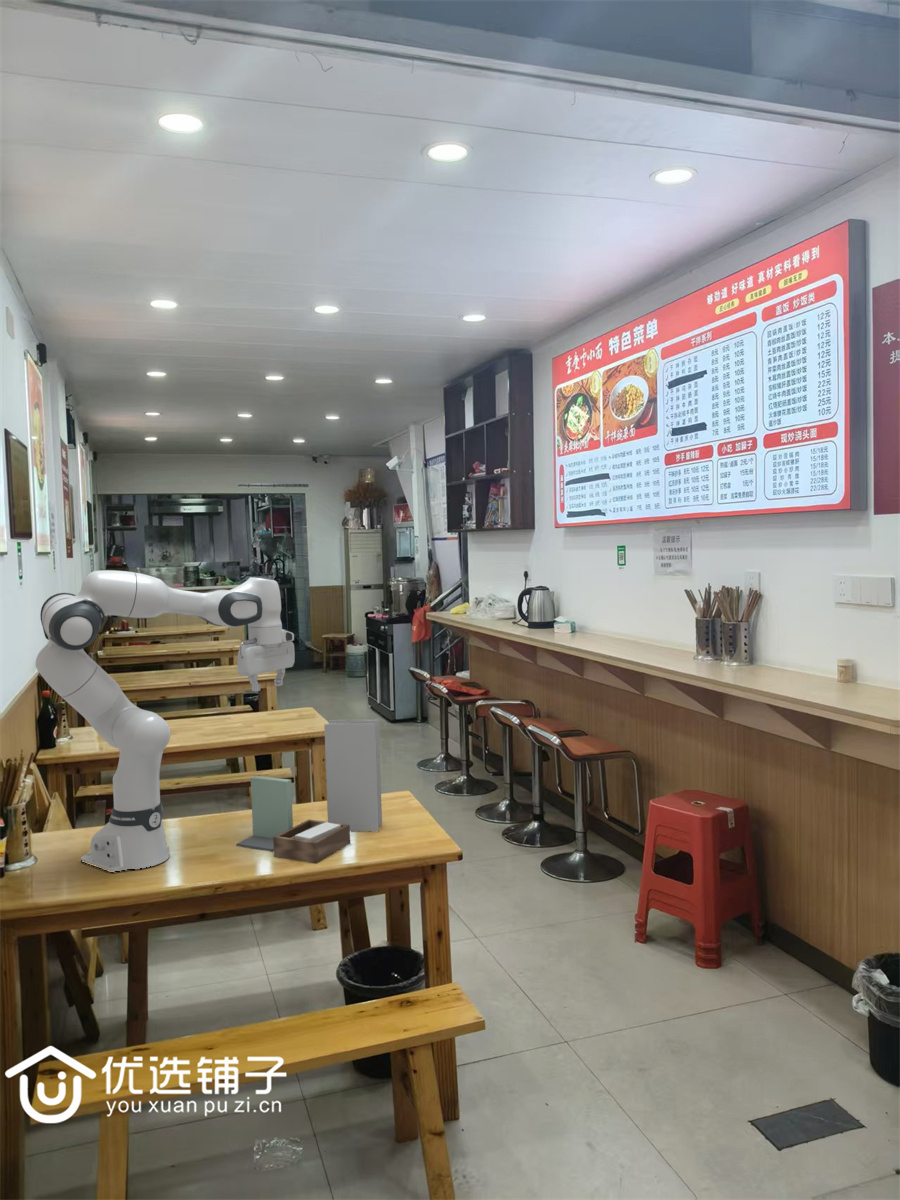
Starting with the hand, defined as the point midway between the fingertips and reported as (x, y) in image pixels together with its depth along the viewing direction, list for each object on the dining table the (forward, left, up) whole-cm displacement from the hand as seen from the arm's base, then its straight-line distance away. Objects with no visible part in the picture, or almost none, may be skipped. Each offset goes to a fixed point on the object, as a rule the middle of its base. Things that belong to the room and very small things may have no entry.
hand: (267, 688), depth 229 cm
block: (0, 0, -40) cm, 41 cm away
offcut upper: (+17, -4, -38) cm, 42 cm away
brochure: (+16, +16, -41) cm, 47 cm away
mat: (0, 0, -41) cm, 41 cm away
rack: (+15, -3, -41) cm, 44 cm away
